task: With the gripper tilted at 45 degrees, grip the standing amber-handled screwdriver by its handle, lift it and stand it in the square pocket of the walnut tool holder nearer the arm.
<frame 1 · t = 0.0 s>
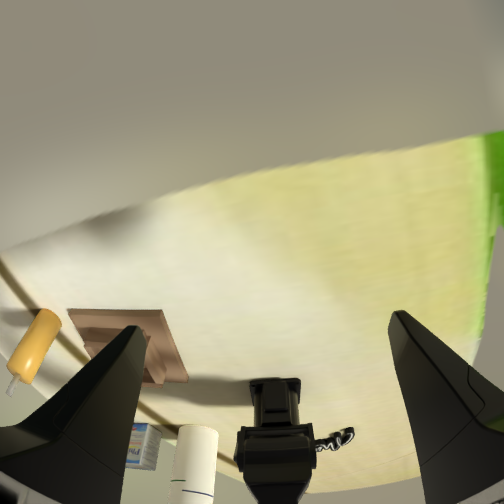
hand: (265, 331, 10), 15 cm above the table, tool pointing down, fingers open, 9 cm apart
medicine box: (140, 427, 48), on the table
tool holder: (130, 345, 33), on the table
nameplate: (297, 448, 52), on the table
screwdriver: (50, 319, 32), on the table
cylindrical container: (198, 431, 46), on the table
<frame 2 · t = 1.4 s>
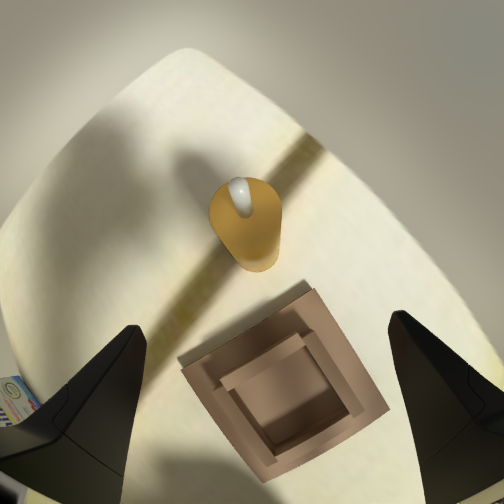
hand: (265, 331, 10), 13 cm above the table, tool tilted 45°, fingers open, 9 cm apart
medicine box: (34, 412, 23), on the table
tool holder: (288, 393, 22), on the table
screwdriver: (256, 249, 24), on the table
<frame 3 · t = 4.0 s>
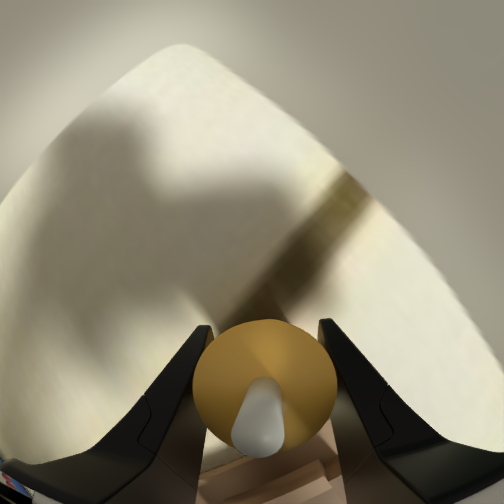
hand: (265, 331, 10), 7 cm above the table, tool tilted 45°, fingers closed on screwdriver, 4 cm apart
medicine box: (10, 482, 14), on the table
screwdriver: (270, 351, 16), on the table, touching gripper
when the fingers open (9 cm above the table, at t = 7.6 s): screwdriver drops 1 cm, resting on tool holder.
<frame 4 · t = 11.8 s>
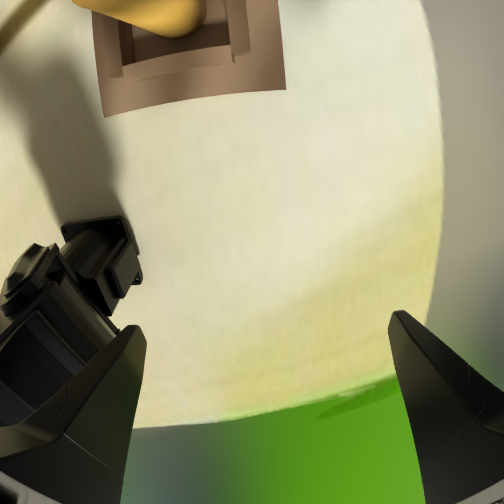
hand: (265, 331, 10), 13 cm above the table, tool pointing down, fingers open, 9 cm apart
tool holder: (182, 16, 14), on the table
screwdriver: (178, 14, 13), point 1 cm above the table, touching tool holder
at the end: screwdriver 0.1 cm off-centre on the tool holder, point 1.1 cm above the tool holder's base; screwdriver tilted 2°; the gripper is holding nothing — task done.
